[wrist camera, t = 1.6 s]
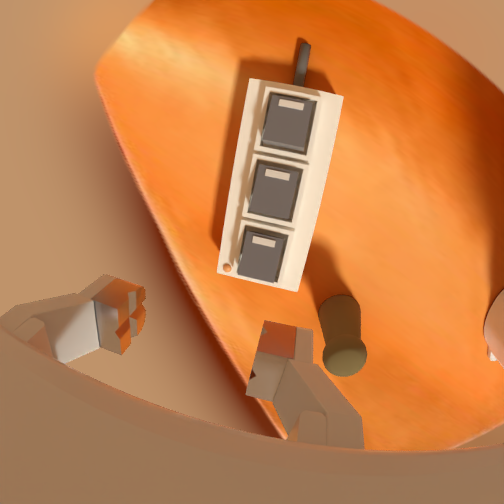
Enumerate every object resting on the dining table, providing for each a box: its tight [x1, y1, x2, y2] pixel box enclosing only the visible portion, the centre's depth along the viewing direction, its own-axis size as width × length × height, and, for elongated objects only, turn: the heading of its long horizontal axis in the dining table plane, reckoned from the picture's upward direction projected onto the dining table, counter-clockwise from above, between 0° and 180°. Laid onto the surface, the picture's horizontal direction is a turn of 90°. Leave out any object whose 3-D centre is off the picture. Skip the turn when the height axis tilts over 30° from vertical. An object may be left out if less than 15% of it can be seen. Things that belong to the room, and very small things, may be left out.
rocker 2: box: [249, 164, 299, 219], centre depth 31 cm, size 4×5×2 cm
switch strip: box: [217, 43, 344, 292], centre depth 33 cm, size 10×29×6 cm, turn 169°
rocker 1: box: [262, 95, 313, 151], centre depth 28 cm, size 4×5×2 cm
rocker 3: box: [238, 231, 284, 283], centre depth 33 cm, size 4×5×2 cm
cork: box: [318, 295, 367, 377], centre depth 36 cm, size 6×6×11 cm
